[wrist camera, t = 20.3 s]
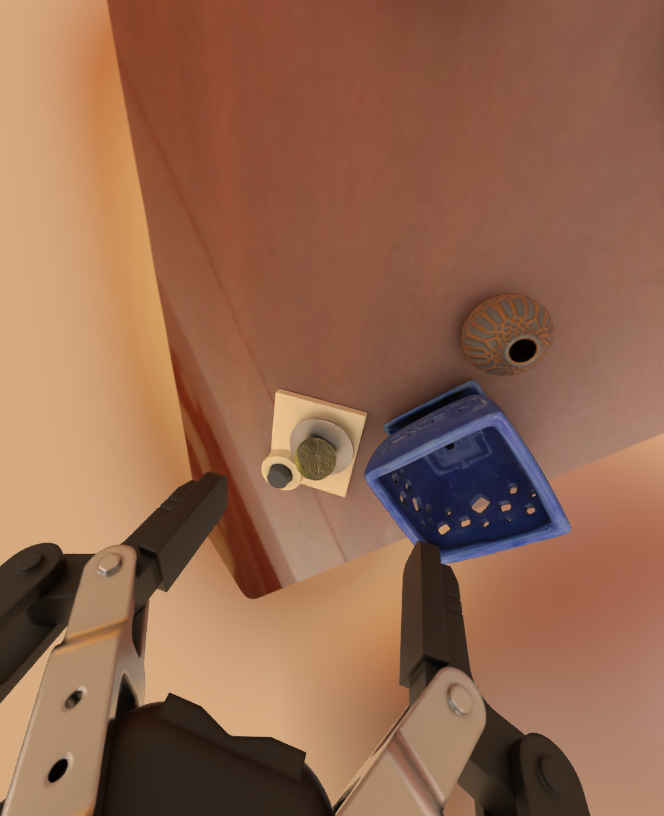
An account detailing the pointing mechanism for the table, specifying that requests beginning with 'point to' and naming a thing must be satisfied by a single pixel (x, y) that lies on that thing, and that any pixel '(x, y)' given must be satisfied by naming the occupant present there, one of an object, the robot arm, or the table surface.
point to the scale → (299, 409)
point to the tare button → (279, 476)
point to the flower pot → (463, 477)
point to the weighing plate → (328, 433)
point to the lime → (315, 459)
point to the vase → (507, 334)
